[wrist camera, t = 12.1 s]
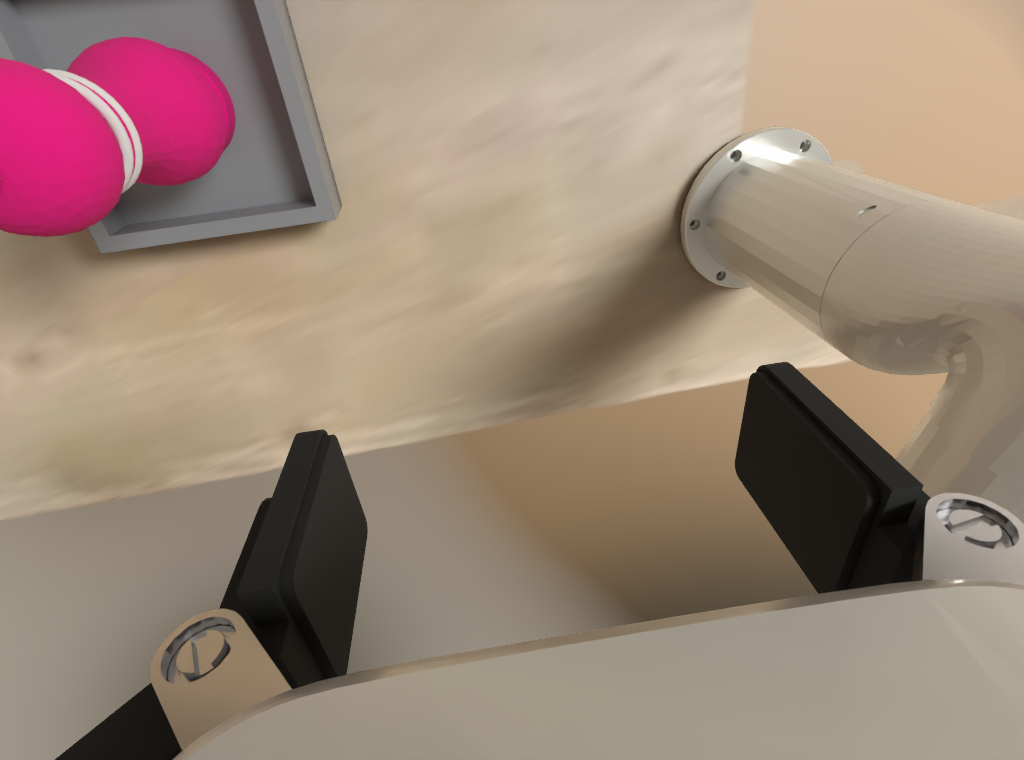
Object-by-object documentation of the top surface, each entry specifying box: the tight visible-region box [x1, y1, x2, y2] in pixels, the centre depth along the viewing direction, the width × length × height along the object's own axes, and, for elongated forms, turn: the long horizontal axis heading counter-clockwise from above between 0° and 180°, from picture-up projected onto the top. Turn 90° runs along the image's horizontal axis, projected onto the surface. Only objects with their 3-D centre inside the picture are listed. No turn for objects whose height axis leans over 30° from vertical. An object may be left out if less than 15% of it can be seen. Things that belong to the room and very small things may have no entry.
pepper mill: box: [0, 37, 236, 237], centre depth 24 cm, size 7×7×20 cm
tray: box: [0, 0, 342, 254], centre depth 32 cm, size 15×15×4 cm
